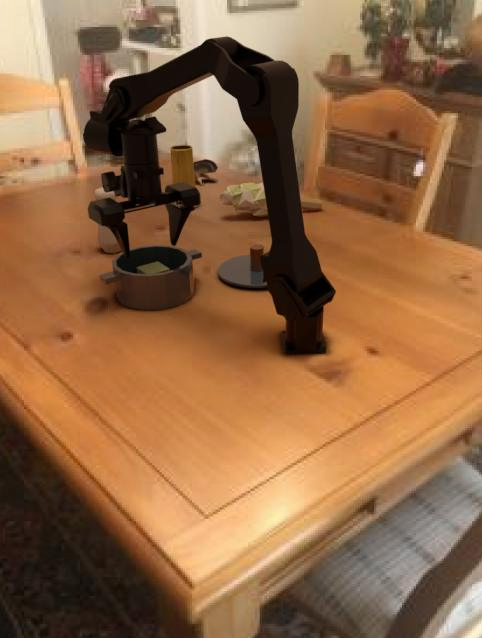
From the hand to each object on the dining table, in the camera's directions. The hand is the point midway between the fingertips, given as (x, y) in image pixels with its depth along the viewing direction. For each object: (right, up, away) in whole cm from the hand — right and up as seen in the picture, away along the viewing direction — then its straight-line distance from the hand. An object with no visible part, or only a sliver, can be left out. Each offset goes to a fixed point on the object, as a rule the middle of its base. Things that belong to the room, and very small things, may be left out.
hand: (150, 251), depth 109 cm
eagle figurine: (+4, +31, +63) cm, 71 cm away
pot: (0, -7, +4) cm, 8 cm away
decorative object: (+23, +17, +40) cm, 49 cm away
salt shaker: (-12, +5, +23) cm, 26 cm away
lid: (+19, -2, +10) cm, 22 cm away
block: (0, -6, +4) cm, 8 cm away
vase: (+1, +20, +47) cm, 51 cm away
